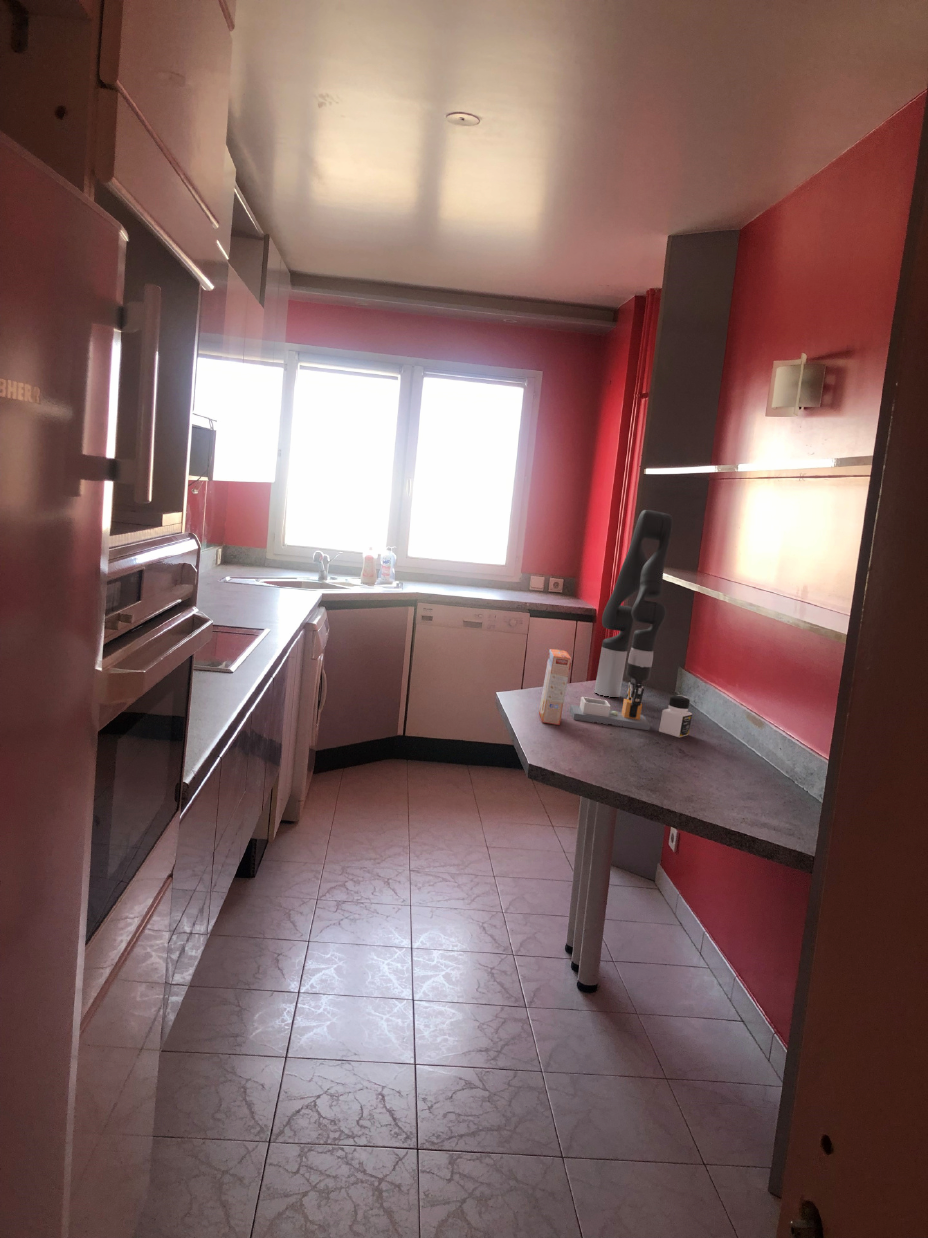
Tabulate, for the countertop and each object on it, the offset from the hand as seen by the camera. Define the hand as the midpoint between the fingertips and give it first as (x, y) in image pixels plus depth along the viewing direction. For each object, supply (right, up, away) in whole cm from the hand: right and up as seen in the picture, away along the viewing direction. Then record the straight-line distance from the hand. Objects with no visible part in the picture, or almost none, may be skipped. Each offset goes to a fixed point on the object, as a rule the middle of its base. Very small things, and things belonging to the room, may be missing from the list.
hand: (630, 714), depth 288 cm
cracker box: (-27, 0, -11) cm, 29 cm away
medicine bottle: (+12, -6, -5) cm, 15 cm away
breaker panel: (-7, -2, -1) cm, 8 cm away
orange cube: (0, -1, 0) cm, 1 cm away
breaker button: (-12, +2, -1) cm, 12 cm away
